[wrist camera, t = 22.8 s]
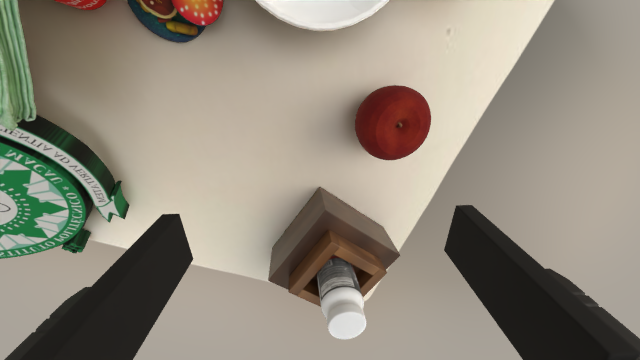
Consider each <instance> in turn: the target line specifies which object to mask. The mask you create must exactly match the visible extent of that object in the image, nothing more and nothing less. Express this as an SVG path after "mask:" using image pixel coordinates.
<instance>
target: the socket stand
mask: <svg viewBox="0 0 640 360" xmlns="http://www.w3.org/2000/svg"><path fill="white" fill-rule="evenodd" d="M332 255H336V256H338V257H340V258H342V259H344V260H345V261H347V262H349V263H351V264H352V265H353V268H354V271H355V274H356V278H357V281H358V284H359V287H360V290H361V293H362V296H363V297H364V296H365V295H366V294H367V293H368V292H369V291H370V290H371V289H372V288H373V287H374V286H375V285H376V284H377V283H378V282H379V281H380V280H381V279H382V278H383V277H384V275H385V274H386V273H387V272H386V269H387V268H388V267H389V266H390V265H391V264H392V263H393V262H394V261H395V260H396V259H397V258H398V257H399V256H400V254H399V252H398V251H397V249H396V247H395V246H394V244H393V242H392V241H391V239H390V238H389V236H388V234H387V233H386V231H385V229H384V228H383V227H382V226H381V225H379V224H378V223H376V222H374V221H373V220H371V219H370V218H368V217H366V216H365V215H363V214H362V213H360V212H359V211H357V210H355V209H354V208H352V207H351V206H349V205H348V204H346V203H344V202H343V201H341V200H340V199H338V198H337V197H335V196H333V195H332V194H330V193H329V192H327V191H326V190H324V189H322V188H321V187H319V189H318V190H317V191H316V192H315V194H314V195H313V196H312V198H311V199H310V200H309V201H308V203H307V204H306V205H305V207H304V208H303V209H302V210H301V212H300V213H299V214H298V216H297V217H296V218H295V219H294V221H293V222H292V223H291V225H290V226H289V227H288V228H287V230H286V231H285V232H284V234H283V235H282V236H281V237H280V239H279V240H278V241H277V243H276V244H275V245H274V246H273V248H272V255H271V263H270V271H269V278H268V281H270V282H273V283H275V284H277V285H279V286H281V287H284V288H286V289H288V290H289V293H292V294H294V295H297V296H298V297H300V298H303V299H305V300H307V301H309V302H311V303H314V304H316V305H318V306H320V307H321V304H320V296H319V288H318V280H317V272H318V271H319V270H320V269H321V268H322V267H323V265H324V264H325V263H326V262H327V261H328V260H329V259H330V257H331V256H332Z"/></svg>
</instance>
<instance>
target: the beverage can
mask: <svg viewBox="0 0 640 360" xmlns="http://www.w3.org/2000/svg"><path fill="white" fill-rule="evenodd" d="M54 1H57V2H60V3H63V4H66V5H69V6H72V7H75V8H79V9H83V10H93V9H97V8H99V7H101V6H102V5H103V4H104V3H105V2H106V0H54Z"/></svg>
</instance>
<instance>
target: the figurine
mask: <svg viewBox="0 0 640 360" xmlns="http://www.w3.org/2000/svg"><path fill="white" fill-rule="evenodd" d="M127 1H128V4H129V6H130V8H131V9H132V11H133V13H134V14H135V15H136V17H137V18H138V19H139V20H140V21H141V22H142V23H143V24H144V25H145V26H146V27H147V28H148V29H149V30H151V31H152V32H153V33H155V34H157V35H159V36H160V37H163V38H165V39H168V40H170V41H175V42H187V41H190V40H192V39H194V38H196V37H197V36H198V35H199V34H200V33H201V32H202V31H203V30H204V28H205V27H206V25H209V24H211V23H213V22H214V21H215V20H216V19H217V18H218V17H219V15H220V13H221V11H222V7H223V0H127Z"/></svg>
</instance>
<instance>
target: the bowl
mask: <svg viewBox="0 0 640 360" xmlns="http://www.w3.org/2000/svg"><path fill="white" fill-rule="evenodd" d="M255 1H256V2H257V3H258V4H259V5H260V6H261V7H262V8H264V9H265V10H267V11H268V12H269V13H271V14H272V15H274V16H275V17H276V18H278V19H279V20H282V21H284V22H286V23H288V24H291V25H293V26H295V27H298V28H303V29H308V30H312V31H334V30H338V29H342V28H346V27H349V26H352V25H354V24H356V23H358V22H360V21H362V20H364V19H366V18H368V17H370V16H371V15H373V14H374V13H375V12H376V11H378V10H379V9H380V8H381V7H383V6H384V5H385V4H386V3H388V1H389V0H255Z"/></svg>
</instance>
